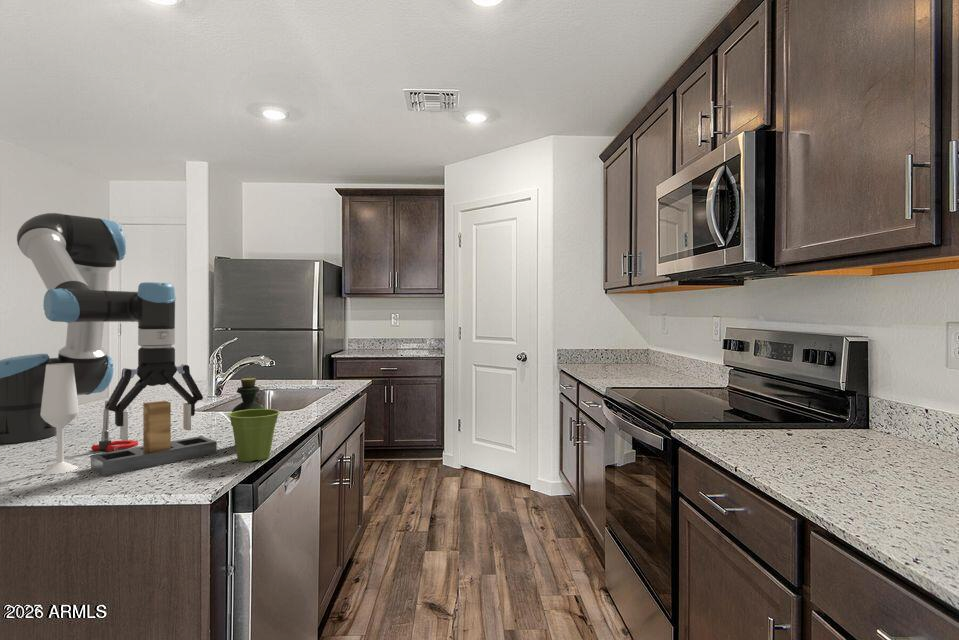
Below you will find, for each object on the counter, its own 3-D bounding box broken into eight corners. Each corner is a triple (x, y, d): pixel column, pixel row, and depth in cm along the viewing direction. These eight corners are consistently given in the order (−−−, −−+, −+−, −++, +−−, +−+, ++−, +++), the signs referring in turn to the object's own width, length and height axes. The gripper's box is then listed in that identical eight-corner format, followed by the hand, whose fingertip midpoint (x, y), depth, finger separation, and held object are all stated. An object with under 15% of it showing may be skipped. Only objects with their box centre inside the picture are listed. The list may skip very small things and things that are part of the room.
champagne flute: (83, 464, 119) (83, 362, 119) (72, 473, 113) (71, 365, 113) (48, 467, 117) (48, 363, 116) (34, 476, 110) (34, 366, 110)
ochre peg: (143, 460, 122) (143, 402, 122) (163, 456, 126) (163, 400, 126) (150, 464, 120) (150, 405, 120) (170, 460, 123) (170, 402, 123)
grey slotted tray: (90, 468, 116) (90, 455, 116) (201, 447, 135) (201, 436, 135) (103, 476, 111) (102, 462, 111) (216, 453, 129) (216, 441, 129)
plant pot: (274, 464, 120) (274, 416, 120) (220, 466, 118) (220, 418, 118) (284, 451, 132) (284, 407, 132) (236, 452, 130) (236, 408, 130)
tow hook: (118, 443, 140) (87, 450, 131) (120, 396, 141) (89, 400, 132) (145, 445, 139) (116, 452, 130) (147, 397, 139) (118, 401, 130)
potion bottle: (224, 448, 134) (224, 380, 134) (243, 441, 142) (243, 376, 142) (253, 450, 133) (253, 381, 132) (270, 442, 141) (270, 377, 140)
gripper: (99, 350, 110) (99, 447, 111) (217, 345, 130) (217, 427, 130) (88, 348, 115) (89, 441, 115) (204, 343, 135) (204, 423, 135)
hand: (156, 434), depth 123 cm, fingers open, 13 cm apart
